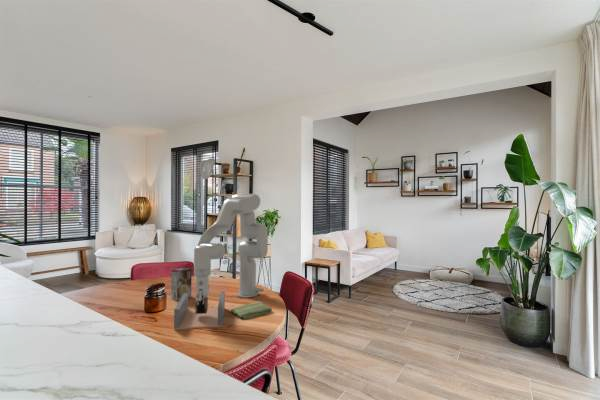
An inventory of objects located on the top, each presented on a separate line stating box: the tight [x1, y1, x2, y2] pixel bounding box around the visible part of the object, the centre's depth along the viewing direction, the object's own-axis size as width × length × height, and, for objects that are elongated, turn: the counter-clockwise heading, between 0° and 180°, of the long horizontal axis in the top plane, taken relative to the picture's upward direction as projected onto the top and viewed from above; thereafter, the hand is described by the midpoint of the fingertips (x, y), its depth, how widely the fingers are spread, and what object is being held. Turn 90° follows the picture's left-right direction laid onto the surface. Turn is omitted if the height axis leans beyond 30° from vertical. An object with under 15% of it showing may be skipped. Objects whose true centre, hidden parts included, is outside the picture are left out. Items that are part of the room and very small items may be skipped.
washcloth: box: [230, 300, 272, 320], centre depth 153 cm, size 13×18×3 cm
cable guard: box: [173, 291, 226, 331], centre depth 144 cm, size 20×23×9 cm
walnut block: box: [194, 297, 209, 314], centre depth 144 cm, size 5×5×6 cm
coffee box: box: [170, 267, 192, 301], centre depth 174 cm, size 9×6×16 cm
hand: (201, 310), depth 144 cm, fingers closed on walnut block, 5 cm apart
